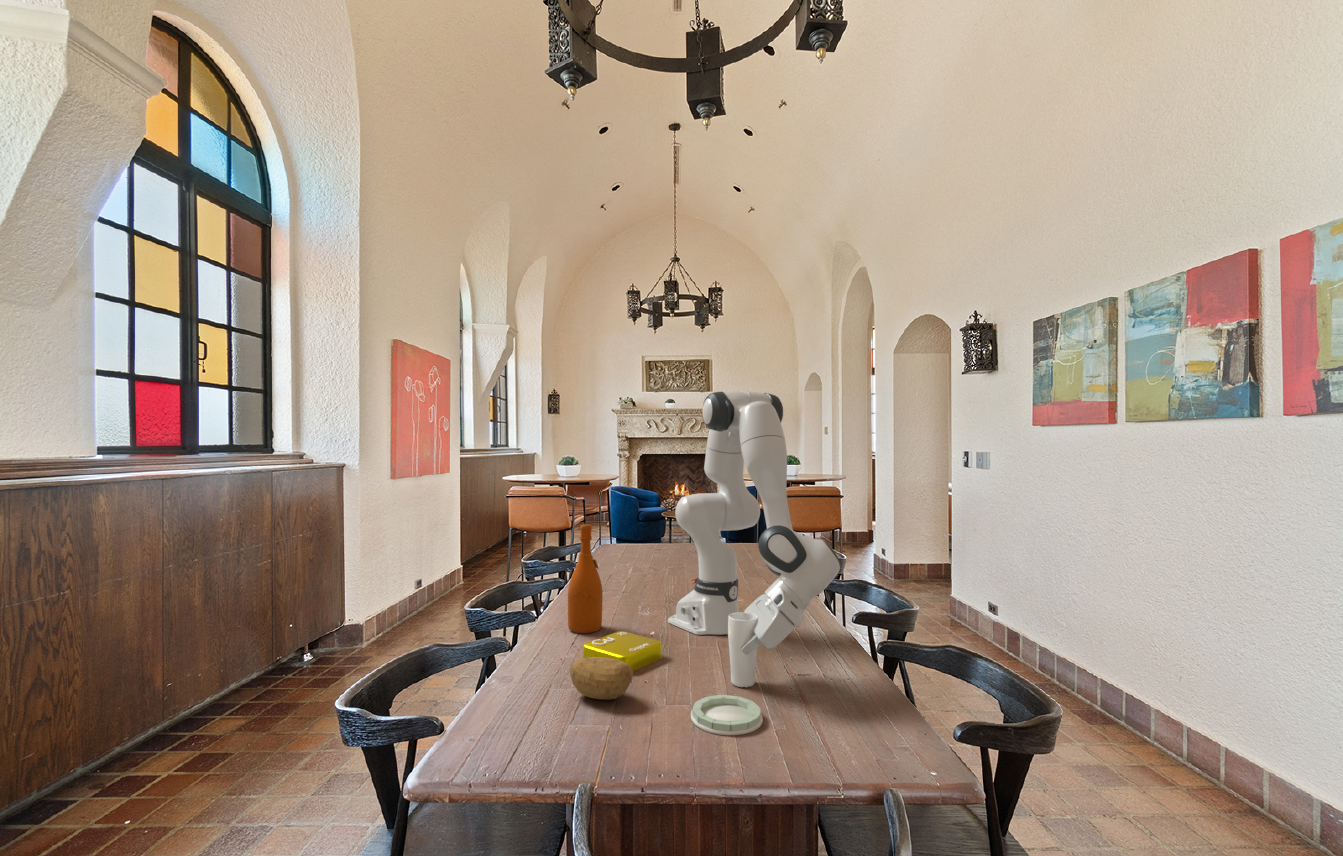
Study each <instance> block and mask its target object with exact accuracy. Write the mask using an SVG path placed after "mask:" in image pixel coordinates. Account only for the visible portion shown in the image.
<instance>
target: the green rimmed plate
mask: <svg viewBox="0 0 1343 856" xmlns="http://www.w3.org/2000/svg"><path fill="white" fill-rule="evenodd" d="M763 718H764V715H763V714H762V709H761V707H760V706H758V704H757V703H755V702H754V701H753V700H751V699H747V698H745V697H742V696H739V695H738V696H737V695H731V694H730V695H728V694H717V695H710V696H705V697H702V698H701V699H699V700H696V701H695V702H694V703H693V706H692V709H691V710H690V720H691V722H692V724H693V725H694V726H695V727H696V728H698V729H700V730H702V731H703V732H706V733H710V734H713V735H719V736H728V737H729V736H731V737H732V736H742V735H747V734H750V733H753V732H756V731H757V730H758V729H760V728H761V726H762V725H763Z"/></svg>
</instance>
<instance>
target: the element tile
mask: <svg viewBox="0 0 1343 856" xmlns="http://www.w3.org/2000/svg"><path fill="white" fill-rule="evenodd" d="M662 645H663V643H662V641H661V640H658V639H655V638H650V637H648V636H643V635H640V634H636V633H632V632H628V631H623V630H619V631H616V632H613V633H610V634H607V635H605V636H602V637H600V638H597V639H594V640H591V641H588V642H586V643H584V644H583V645H582V646H583V647H582V649H583V650H582V653H583V654H582V658H586V657H596V658H597V657H607V658H611V659H613V660H618V661H622V662H624V663H626V664H628V665H629V666H630V667H631V668H632V672H633V673H634V672H635V671H637V670H639V669H642V668H643V667H646V666H649V665H650V664H653V663H655V662H657V660H658V661H660V660H661V659H662V657H663V655H662V653H663V649H662V647H663V646H662ZM659 659H660V660H659ZM648 664H649V665H648Z"/></svg>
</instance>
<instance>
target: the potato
mask: <svg viewBox="0 0 1343 856" xmlns="http://www.w3.org/2000/svg"><path fill="white" fill-rule="evenodd" d="M569 674H570V678H571V682H572V684H573V686H574V687H575V689H576V690H577V692H578V693H580V694H581V695H583V696H585V697H587V698H592V699H595V700H601V701H609V700H614V699H618V698H619V697H621V696H622V695H623V694H625V692H627V689H629V686H630V684H631V682H632V680H633V677H634V676H633V675H634V671H633V672H632V668H631V667H630V666H629V665H628V664H626V663H624V662H622V661H618V660H613V659H611V658H607V657H597V658H596V657H586V658H583V657H582V658H580V659H577V660H576V661H575V662H573V664H572V665H571V667H570V669H569Z"/></svg>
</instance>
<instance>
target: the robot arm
mask: <svg viewBox="0 0 1343 856" xmlns="http://www.w3.org/2000/svg"><path fill="white" fill-rule="evenodd" d="M783 406H784V405H783V403H782V401H781V399H780V398H779V397H778V396H777V395H775V394H772V393H769V392H764V393H763V392H757V391H749V390H748V391H746V390H743V391H726V392H723V391H715V392H711V393H709V394H708V395H707V396H706V397H705V398H704V401H703V404H702V420H703V423H704V425H705V426H706V427H707V428H708V429H709V430H708V431H709V432H708V435H707V440H706V448H705V458H704V465H703V466H704V467H703V470H704V474H705V475H706V477H707V478H708V479H710V480H711V481H712V482H714V483H716V484H718V485H719V489H718V490H719V491H718V492H709V493H708V492H707V493H700V492H699V493H695V494H694V493H693V494H687V495H685V496H682V497H681V498H680V499H679V500H678V502H676V503H677V504H676V505H675V506H676V507H675V512H674V513H675V514H674V515H675V520H676V522H677V524H678V525H679V527H680V528H681V529H682V530H684V532H686V533H687V534H688V535H689V536H690V538H691V539H692V541H693V543H694V544H695V547H696V552H697V559H698V561H697V563H698V577H696V578H694V579H692V580H691V581H692V582H691V585H693V584H694V587H693V590H691V591H690V592H688V593H687V594H686V595H685V596H683V597H682V598H680V599H679V601H678V602H677V604H676V608H675V614H673V615H671V616H670V617H668V618H667V619H668V620H667V623H668V624H671V625H673V626H676V627H678V628H680V629H682V630H685V631H687V632H690V633H692V634H694V635H697V636H698V635H701V636H703V635H720V636H721V635H728V616H729V615H730V614H732V613H737V612H739V603H738V595H739V578H738V573H737V572H738V570H737V569H738V557H737V556H738V555H737V553H736V552H737V551H735V549H734V548H733V547H732V546H731V545H730V544H727V543H725V542H724V541H721V538H720V532H722V531H739V530H740V531H741V530H744V529H749V528H752V527H754V526H755V525H756V524H757V523H758V522H759V520H760V515H761V507H760V503H759V502H758V500H757V498H756V497H755V496H754V495H753V494H752V493H750V491H749V490H748V488H747V486H746V484H745V479H744V466H745V468H746V471H747V474H748V476H749V478H750V480H751V481H752V483H753V484H754V486H755V488H756V491H757V492H758V495H759V497H760V499H761V503H762V507H763V513H764V519H765V525H766V529H765V530H764V531H763V532H762V533H761V534H760V536H759V539H758V544H757V545H758V551H759V555H760V557H761V559H762V560H763V562H764V563H765V565H766V567H767V569H768V570H769V571H770V572H771V573H772V574H774V575H775V576H778V578H777V579H775V581H773V583H772V584H770V586H769V587H768V588H767V589H766V590H764V593H763V594H761V595H759V596H758V597H757V598H755V600H754V601H753V602H751V603H750V604H749V605H748V606H747V607H746V608H745V609H744V611H743V612H746V613H752V614H755V615H757V616H758V620H757V623H756V624H755V626H754V628H753V631H754V633H755V635H754V636H753V637H752V639H751V640H750V641H749V642H747V643H745V644H744V645H743V646H742V647H741V650H742V651H743V652H744V653H745V654H746V655H748V654H749V653H750V652H751V651H752V650H754V649H756V648H757V649H758V648H760V647H761V646H762V645H764V646H765V648H767V649H768V650H772V649H774V648H776V647H778V646H779V644H781V643H782V642H783V641H784V640H785V639H786V638H787V637H789V635H790V634H791V633H792V632H793V631H794V629H795V627H796V628H799V627H801V625H802V624H803V623H804V622H805V618H804V613H805V610H806V609H807V608H808V607H809V605H811V602H812V600H813V599H814V598H815V597H817V596H818V595H820V594H822V593H823V591H824V590H825V589H827V588H828V586H829V585H830V583H832V582H833V581H834V579H835V578H836V576H837V575H838V574H839V572H840V569H841V563H840V559H839V557H838V555H837V554H836V552H835V550H834V549H833V548H832V547H831V546H830V544H829V543H828V542H826V541H825V540H824V539H821V538H820V539H819V538H812V537H809V536H806V535H803V534H800V533H798V532H797V531H794V527H793V524H792V518H791V512H790V507H789V502H788V493H787V479H788V478H787V477H788V455H787V454H788V452H787V444H786V443H787V442H786V439H785V434H784V430H783V426H782V422H783V418H784V407H783ZM753 619H756V617H754V618H752V619H750V620H753Z"/></svg>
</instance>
